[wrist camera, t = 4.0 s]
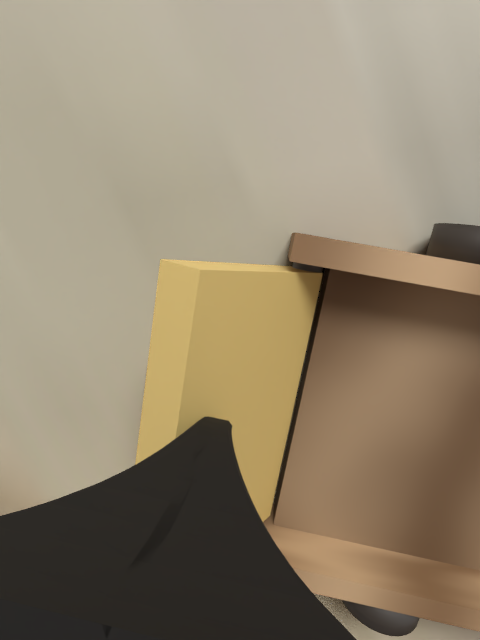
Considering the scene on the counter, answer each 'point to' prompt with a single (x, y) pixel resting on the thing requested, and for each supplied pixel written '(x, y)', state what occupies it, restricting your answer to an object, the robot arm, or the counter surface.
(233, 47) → the counter surface
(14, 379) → the counter surface
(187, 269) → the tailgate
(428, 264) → the brown wooden drawer
